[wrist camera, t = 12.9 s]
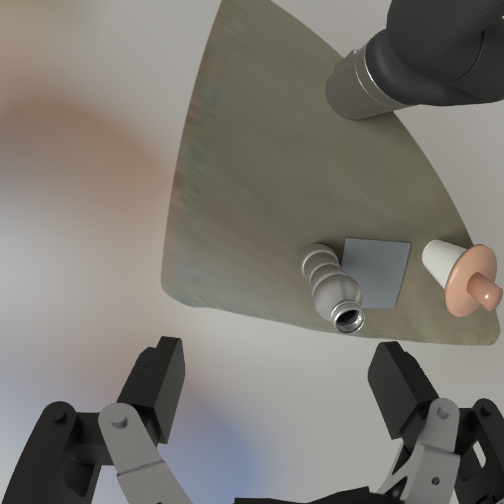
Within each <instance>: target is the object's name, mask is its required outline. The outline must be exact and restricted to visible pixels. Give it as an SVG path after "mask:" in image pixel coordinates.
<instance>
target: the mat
mask: <svg viewBox="0 0 504 504" xmlns="http://www.w3.org/2000/svg"><path fill="white" fill-rule="evenodd" d="M410 246H411V243H408V242H396V241H384V240H371V239H358V238H345V243H344V250H343V256H342V262H341V268H342V269H343V270H344V271H345V273H347V274H348V275H349V276H350V277H352V278H353V279H354V280H355V281H356V282H357V283H358V284H359V286H360V288H361V291H362V298H363V300H362V304H361V308H394V307H395V304H396V301H397V297H398V294H399V291H400V287H401V283H402V280H403V276H404V272H405V268H406V264H407V260H408V255H409V251H410Z"/></svg>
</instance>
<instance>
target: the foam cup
mask: <svg viewBox="0 0 504 504" xmlns="http://www.w3.org/2000/svg"><path fill="white" fill-rule="evenodd" d="M466 250H467V249H465V248H462V247H459V246H456V245H453V244H450V243H447V242H444V241H440V240H433V241H430V242H429V243H428V244H427V245H426V247H425V249H424V251H423V255H422V261H423V264H424V265H425V267H426V268H427V269H428V270H429V272H430V273H431V274H432V275H433V276H434V277H435V279H436V280H437V281H438V282H439V283H440V285H441V286H442V287H443V288H444V290H445V286H446V282H447V279H448V276H449V274H450V271H451V269H452V267H453V266H454V264H455V262H456V261H457V259H458V258H459V257H460V256H461V255H462V254H463V253H464V252H465V251H466Z"/></svg>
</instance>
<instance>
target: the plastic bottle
mask: <svg viewBox="0 0 504 504" xmlns="http://www.w3.org/2000/svg"><path fill="white" fill-rule="evenodd" d="M299 269H300V272H301V273H302V275H303V276H304V277H305V278H306V279H307V280H308V282H309V283H310V286H311V289H312V295H313V303H314V307H315V309H316V311H317V312H318V314H320V315H321V316H322V317H323V318H324V319H326V320H328V321H331V322H332V324H333V325H334V327H335V329H336V330H337V331H338V332H339V333H341V334H346V335H347V334H352V333H355V332H357V331H358V330H359V329H360V328H361V327H362V326H363V324H364V322H365V316H364V313H363V311H362V308H361V304H362V300H363V298H362V291H361V288H360V286H359V284H358V283H357V282H356V281H355V280H354V279H353V278H352V277H350V276H349V275H348V274H347V273H345V271H344V270H343V269H342V268H341V267H340V265H339V262H338V259H337V256H336V254H335V252H334V251H333V250H332V249H331V248H329V247H328V246H326V245H323V244H311V245H309V246H307V247H306V248H305V249H303V251H302V252H301V254H300V256H299Z"/></svg>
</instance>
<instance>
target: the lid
mask: <svg viewBox="0 0 504 504" xmlns="http://www.w3.org/2000/svg"><path fill="white" fill-rule="evenodd" d="M496 272H497V261H496V257H495V254H494V252H493V251H492V250H491V249H490V248H488V247H487V246H485V245H482V244H477V245H474V246H472V247H470V248H468V249H467V250H466V251H465V252H464V253H463V254H462V255H461V256H460V257H459V258H458V259H457V261H456V262H455V264H454V266H453V267H452V269H451V271H450V274H449V276H448V279H447V282H446V286H445V292H444V300H445V304H446V307H447V309H448V310H449V311H450V312H451V313H452V314H453V315H455V316H457V317H464V316H467V315H469V314H471V313H473V312H474V311H475V310H477V309H478V308H479V307H480V306H481V305H483V306H484V307H485V308H486V309H487V310H489V311H493V310H494V309H495V308H496V307H497V306H498V305H499V303H500V301H501V299H502V295H503V290H502V289H501V288H500V287H499V286H498V285H496V284H495V283H494V281H495V278H496Z"/></svg>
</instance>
